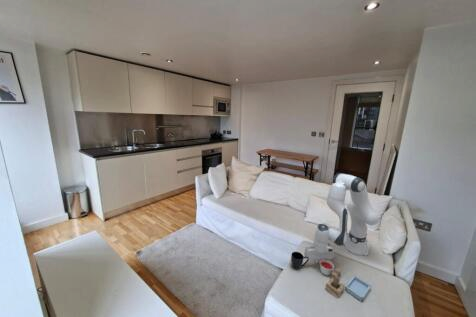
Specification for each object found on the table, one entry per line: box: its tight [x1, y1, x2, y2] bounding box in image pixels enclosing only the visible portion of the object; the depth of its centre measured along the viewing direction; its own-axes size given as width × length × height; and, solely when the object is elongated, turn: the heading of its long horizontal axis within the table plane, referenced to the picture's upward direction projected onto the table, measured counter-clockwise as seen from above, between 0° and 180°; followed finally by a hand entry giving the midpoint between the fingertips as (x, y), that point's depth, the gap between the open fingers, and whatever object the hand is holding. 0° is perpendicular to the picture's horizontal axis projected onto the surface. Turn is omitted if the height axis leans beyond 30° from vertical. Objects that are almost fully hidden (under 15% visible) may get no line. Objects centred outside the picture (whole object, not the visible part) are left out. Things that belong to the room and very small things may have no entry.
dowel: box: [333, 275, 340, 289], centre depth 122 cm, size 3×3×10 cm
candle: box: [319, 259, 335, 276], centre depth 137 cm, size 9×9×6 cm
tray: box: [344, 274, 372, 303], centre depth 124 cm, size 14×10×3 cm
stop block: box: [330, 267, 342, 279], centre depth 132 cm, size 8×3×5 cm, turn 129°
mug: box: [290, 251, 309, 271], centre depth 140 cm, size 8×12×10 cm
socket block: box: [324, 277, 346, 299], centre depth 123 cm, size 8×8×4 cm
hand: (317, 262), depth 142 cm, fingers closed
